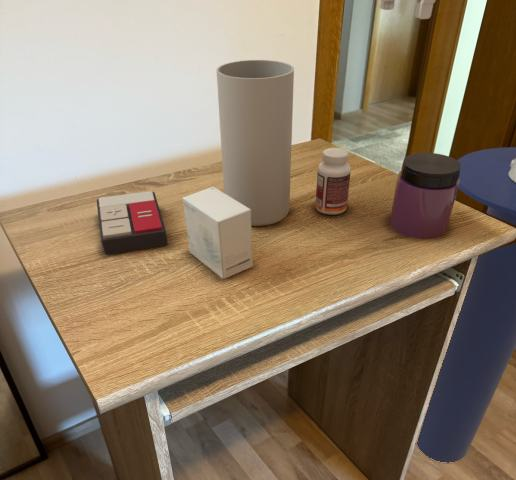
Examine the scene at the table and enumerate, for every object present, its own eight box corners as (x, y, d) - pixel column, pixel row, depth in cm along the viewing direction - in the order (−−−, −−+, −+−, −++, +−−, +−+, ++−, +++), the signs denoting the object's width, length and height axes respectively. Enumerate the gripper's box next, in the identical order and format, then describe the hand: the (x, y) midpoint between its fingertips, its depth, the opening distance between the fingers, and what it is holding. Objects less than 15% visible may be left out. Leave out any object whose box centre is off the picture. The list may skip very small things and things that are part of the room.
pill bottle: (351, 206, 97) (358, 150, 89) (338, 218, 93) (344, 161, 85) (323, 199, 99) (328, 143, 92) (309, 210, 95) (312, 154, 88)
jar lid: (435, 162, 89) (438, 149, 87) (469, 182, 82) (473, 169, 81) (390, 170, 87) (392, 157, 85) (421, 192, 80) (425, 177, 78)
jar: (424, 208, 96) (437, 151, 88) (458, 232, 88) (476, 173, 81) (378, 217, 93) (388, 160, 86) (410, 243, 86) (423, 183, 78)
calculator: (99, 236, 81) (95, 194, 91) (105, 258, 84) (100, 215, 94) (165, 226, 83) (153, 187, 94) (168, 248, 86) (156, 207, 97)
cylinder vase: (266, 193, 101) (266, 56, 85) (301, 216, 94) (309, 71, 77) (213, 208, 97) (202, 66, 80) (246, 234, 89) (241, 83, 72)
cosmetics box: (187, 253, 84) (180, 196, 77) (218, 241, 87) (214, 185, 80) (221, 280, 78) (217, 220, 71) (254, 267, 81) (252, 207, 74)
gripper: (499, -119, 56) (466, 22, 66) (400, -112, 71) (385, 3, 80) (454, -119, 55) (427, 26, 64) (362, -112, 69) (351, 6, 78)
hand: (403, 13), depth 72 cm, fingers open, 8 cm apart
